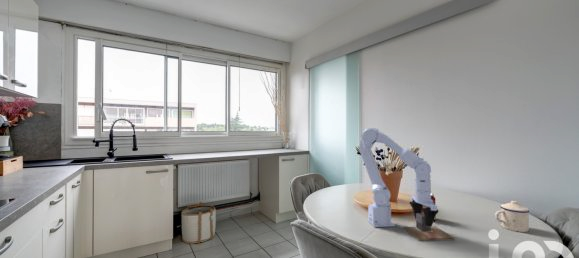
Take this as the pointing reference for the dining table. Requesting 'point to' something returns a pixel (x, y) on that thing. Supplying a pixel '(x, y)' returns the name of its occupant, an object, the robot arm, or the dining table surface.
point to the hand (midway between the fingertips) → (423, 222)
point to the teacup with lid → (514, 217)
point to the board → (428, 234)
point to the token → (421, 222)
